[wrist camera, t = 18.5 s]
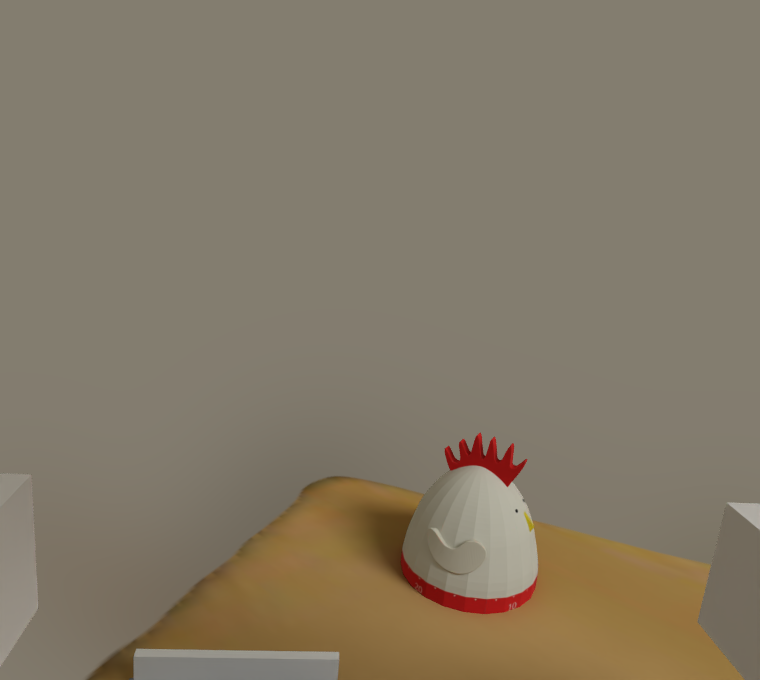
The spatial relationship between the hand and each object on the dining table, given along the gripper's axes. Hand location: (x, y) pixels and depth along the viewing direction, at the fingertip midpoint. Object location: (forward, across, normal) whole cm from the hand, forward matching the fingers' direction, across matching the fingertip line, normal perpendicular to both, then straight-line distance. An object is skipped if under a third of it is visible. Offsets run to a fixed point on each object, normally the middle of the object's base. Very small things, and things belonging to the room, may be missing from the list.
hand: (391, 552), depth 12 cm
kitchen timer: (+47, +16, -32) cm, 59 cm away
